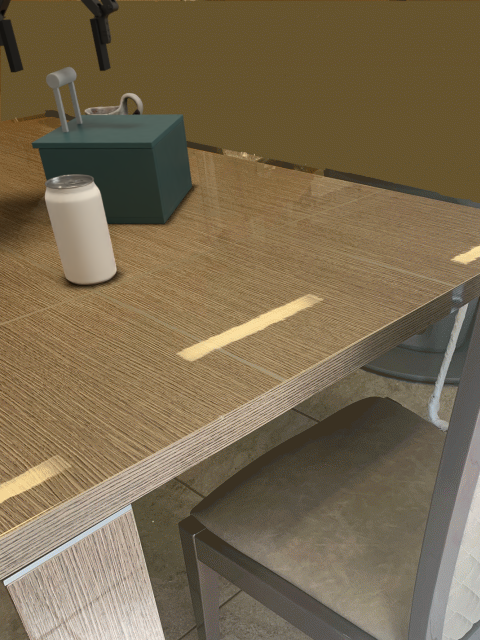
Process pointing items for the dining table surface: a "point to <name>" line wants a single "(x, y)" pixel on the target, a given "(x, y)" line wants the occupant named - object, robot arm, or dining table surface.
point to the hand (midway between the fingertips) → (61, 70)
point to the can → (80, 229)
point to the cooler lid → (102, 124)
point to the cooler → (130, 176)
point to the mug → (117, 107)
